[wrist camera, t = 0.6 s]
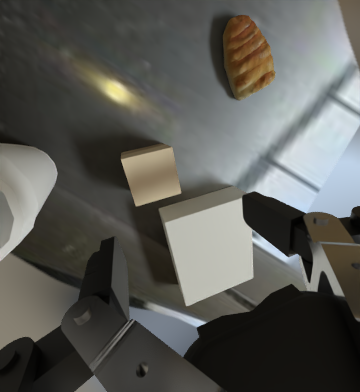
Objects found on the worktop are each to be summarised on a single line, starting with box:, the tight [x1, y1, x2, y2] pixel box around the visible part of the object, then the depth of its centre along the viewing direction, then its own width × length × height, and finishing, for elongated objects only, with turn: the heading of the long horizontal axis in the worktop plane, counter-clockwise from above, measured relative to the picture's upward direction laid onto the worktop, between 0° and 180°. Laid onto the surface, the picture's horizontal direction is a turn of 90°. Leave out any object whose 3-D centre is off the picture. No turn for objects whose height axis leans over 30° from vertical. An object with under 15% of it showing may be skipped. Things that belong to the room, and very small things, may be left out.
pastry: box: [223, 15, 275, 101], centre depth 24 cm, size 9×7×4 cm
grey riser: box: [158, 186, 253, 306], centre depth 33 cm, size 18×14×5 cm
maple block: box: [121, 143, 181, 206], centre depth 25 cm, size 6×6×6 cm
